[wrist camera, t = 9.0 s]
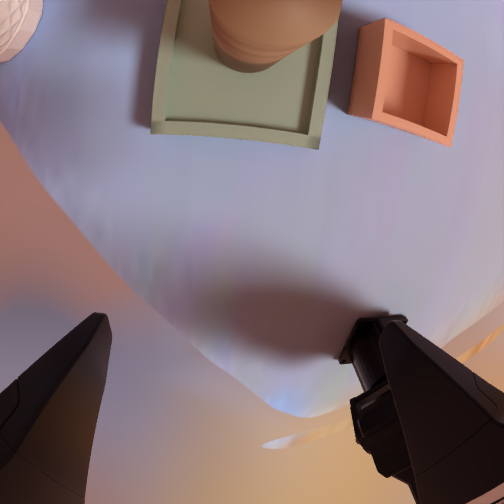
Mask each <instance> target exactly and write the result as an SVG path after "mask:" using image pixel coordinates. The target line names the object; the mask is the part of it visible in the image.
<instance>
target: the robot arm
mask: <svg viewBox="0 0 504 504" xmlns="http://www.w3.org/2000/svg"><path fill="white" fill-rule="evenodd" d="M407 322H408V319H407V318H406V317H405V316H402V317H386V318H366V319H359V320H358V321H357V322H356V324H355V326H354V328H353V330H352V332H351V335H350V337H349V339H348V341H347V343H346V345H345V347H344V349H343V351H342V353H341V355H340V357H339V359H338V361H339V363H340V364H350V363H352V364H353V366H354V369H355V371H356V374H357V376H358V378H359V381H360V383H361V386H362V388H363V390H364V393H362V394H360V395H359V396H357V397H354V398H352V399H350V405H351V407H350V409H351V414H352V420H353V425H354V431H355V437H356V442H357V444H360V445H361V446H362V447H363V449H364V450H365V451H366V452H367V453H369V454H371V455H372V457H373V460H374V463H375V465H376V468H377V471H378V472H379V473H380V474H381V475H383V476H384V477H386V478H389V477H391V476H392V477H394V478H396V479H398V480H400V481H402V482H404V483H406V484H408V486H409V488H410V490H411V492H412V495H413V497H414V500H415V502H416V504H504V393H503V392H502V391H500V390H499V389H497V388H496V387H494V386H493V385H491V384H489V383H488V382H486V381H485V380H484V379H482V378H481V377H479V376H478V375H477V374H475V373H474V372H472V371H471V370H470V369H468V368H467V367H465V366H464V365H463V364H461V363H460V362H459V361H457V360H456V359H454V358H453V357H452V356H450V355H449V354H447V353H446V352H445V351H443V350H442V349H440V348H439V347H438V346H436V345H435V344H433V343H432V342H430V341H429V340H428V339H426V338H425V337H423V336H422V335H420V334H419V333H418V332H416V331H415V330H413V329H412V328H410V327H409V326H407V325H406V324H407ZM111 343H112V332H111V328H110V324H109V320H108V317H107V315H106V314H104V313H97V312H94V313H92V314H91V315H90V316H88V317H87V318H86V319H85V320H83V321H82V322H81V323H80V324H79V325H77V326H76V327H75V328H74V329H73V330H71V331H70V332H69V333H68V334H67V335H66V336H64V337H63V338H62V339H61V340H60V341H58V342H57V343H56V344H55V345H54V346H53V347H52V348H50V349H49V350H48V351H47V352H46V353H45V354H44V355H42V356H41V357H40V358H39V359H38V360H37V361H36V362H34V363H33V364H32V365H31V366H30V367H29V368H28V369H27V370H26V371H24V372H23V373H22V374H21V375H20V376H19V377H18V379H16V380H14V381H13V382H12V383H11V384H10V385H9V386H8V387H7V388H6V389H5V390H4V391H2V392H1V393H0V504H84V503H85V499H84V498H85V491H86V483H87V476H88V468H89V462H90V456H91V449H92V444H93V439H94V433H95V428H96V423H97V418H98V413H99V409H100V404H101V400H102V396H103V392H104V387H105V383H106V376H107V369H108V362H109V355H110V349H111Z"/></svg>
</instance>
